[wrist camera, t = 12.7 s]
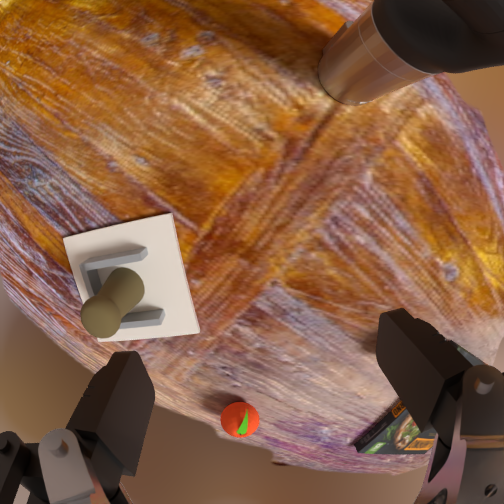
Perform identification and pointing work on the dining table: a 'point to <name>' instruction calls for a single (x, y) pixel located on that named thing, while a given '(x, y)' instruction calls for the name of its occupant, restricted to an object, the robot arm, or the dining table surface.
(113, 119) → the dining table surface
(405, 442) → the pizza box
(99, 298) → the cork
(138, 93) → the dining table surface
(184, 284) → the U-rest
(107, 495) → the robot arm
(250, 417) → the clementine
